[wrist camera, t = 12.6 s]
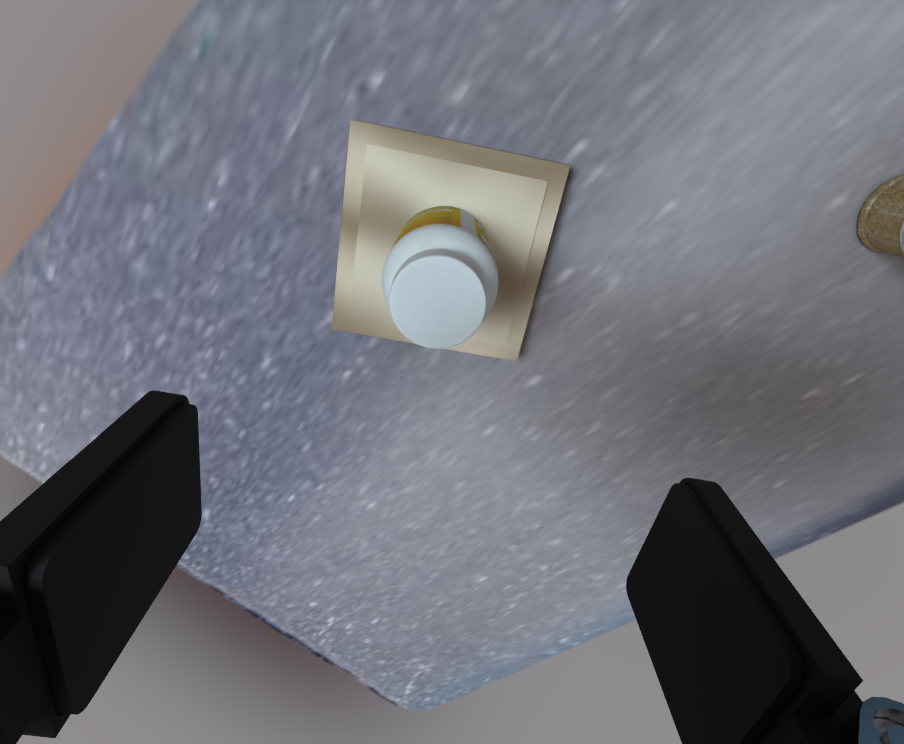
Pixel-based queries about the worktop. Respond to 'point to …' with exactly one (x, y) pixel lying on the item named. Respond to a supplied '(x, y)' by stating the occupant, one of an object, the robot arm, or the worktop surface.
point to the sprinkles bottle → (884, 218)
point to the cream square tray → (443, 184)
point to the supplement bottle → (440, 277)
